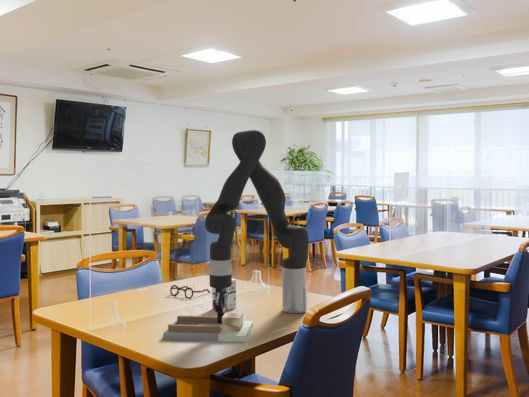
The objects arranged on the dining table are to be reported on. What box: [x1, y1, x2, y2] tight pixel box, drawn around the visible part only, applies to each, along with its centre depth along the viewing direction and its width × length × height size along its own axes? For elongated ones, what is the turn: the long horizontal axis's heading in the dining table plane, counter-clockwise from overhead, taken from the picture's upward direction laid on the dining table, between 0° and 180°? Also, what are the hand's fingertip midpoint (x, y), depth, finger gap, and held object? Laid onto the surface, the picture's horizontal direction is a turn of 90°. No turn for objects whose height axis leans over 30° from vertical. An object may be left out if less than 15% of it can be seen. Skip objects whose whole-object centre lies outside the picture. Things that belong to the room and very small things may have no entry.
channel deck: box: [162, 314, 254, 343], centre depth 175 cm, size 28×16×4 cm, turn 83°
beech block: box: [222, 311, 244, 331], centre depth 173 cm, size 6×6×4 cm
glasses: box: [169, 284, 212, 299], centre depth 229 cm, size 13×13×5 cm
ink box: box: [211, 278, 237, 311], centre depth 205 cm, size 8×5×12 cm, turn 123°
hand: (221, 322), depth 174 cm, fingers closed
